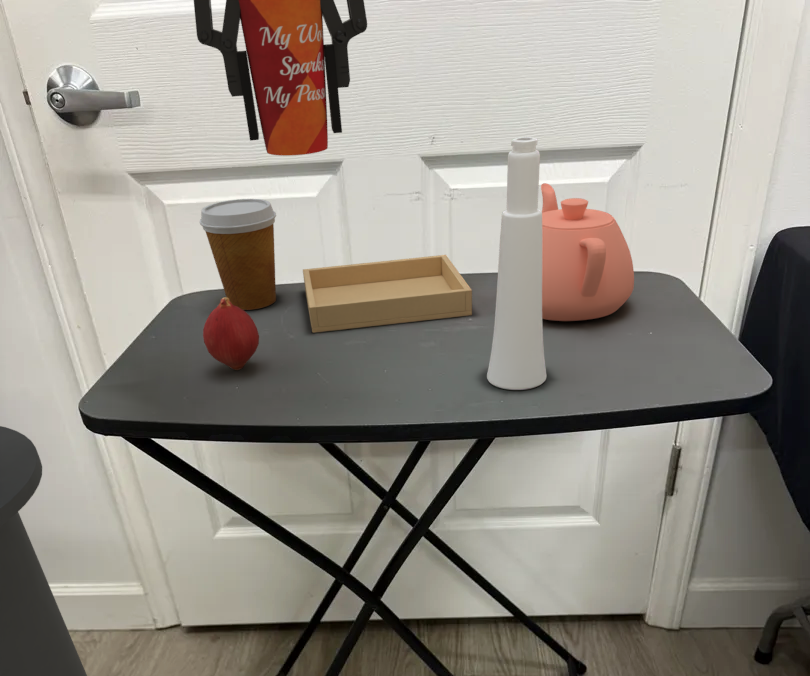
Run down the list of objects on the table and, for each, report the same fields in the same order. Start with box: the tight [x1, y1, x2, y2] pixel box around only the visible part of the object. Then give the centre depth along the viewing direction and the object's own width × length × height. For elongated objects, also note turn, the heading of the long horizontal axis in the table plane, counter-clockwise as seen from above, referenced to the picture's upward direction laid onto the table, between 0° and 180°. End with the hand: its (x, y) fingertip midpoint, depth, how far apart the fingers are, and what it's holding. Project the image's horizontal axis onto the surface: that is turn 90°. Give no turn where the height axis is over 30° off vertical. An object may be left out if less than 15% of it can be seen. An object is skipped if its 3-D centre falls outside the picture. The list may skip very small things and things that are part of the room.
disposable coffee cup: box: [199, 198, 277, 311], centre depth 99 cm, size 10×10×12 cm
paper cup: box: [239, 0, 329, 157], centre depth 66 cm, size 8×8×14 cm
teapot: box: [540, 182, 635, 322], centre depth 92 cm, size 22×15×12 cm
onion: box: [202, 296, 260, 371], centre depth 83 cm, size 6×6×8 cm
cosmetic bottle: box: [486, 136, 548, 391], centre depth 72 cm, size 6×6×22 cm
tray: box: [302, 254, 473, 334], centre depth 99 cm, size 20×16×3 cm
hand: (295, 133), depth 69 cm, fingers closed on paper cup, 7 cm apart
